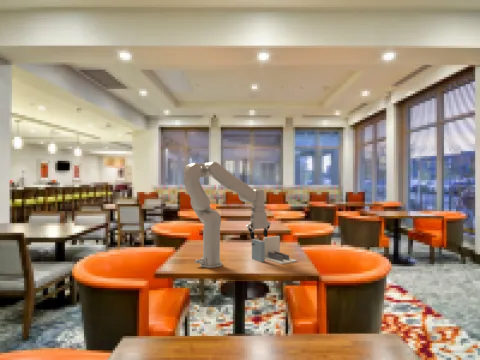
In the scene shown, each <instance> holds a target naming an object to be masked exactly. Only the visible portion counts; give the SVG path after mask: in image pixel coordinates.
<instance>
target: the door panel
mask: <svg viewBox="0 0 480 360" xmlns="http://www.w3.org/2000/svg"><path fill="white" fill-rule="evenodd" d="M250 244H251V260H254V261H255V262H256V261H257V262H258V263H266V261H265V260H266V259H265V242H264V241H263V240H260V239H255V238H254V239H251V243H250Z"/></svg>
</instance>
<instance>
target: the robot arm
mask: <svg viewBox="0 0 480 360" xmlns="http://www.w3.org/2000/svg"><path fill="white" fill-rule="evenodd" d="M183 173H184V181H183V183H184V188H185V190H186V193H188V196H189V198H190V206H191V208H192V210H193V211H194V212H195V214H196V216H197V217H198V219H199V221H200V222H201V223H202V224H203V231H202V232H203V233H202V234H203V235H202V245H203V246H202V257H201V258H200V259H195V260H194V263H195V264H199V265H200V267H201V268H208V269H211V268H212V269H213V268H220V267H222V266H223V262H222V261H220V260H221V223H222V217H221V214H220V212H219V211H217V210H215V209H213V208H212V206H211V200H210V198H209V196H208V195H207V193H206V192H205V190H204V188H203V186H202V184H201V180H200V179H201V178H207V177H208V178H209V177H212V179H214V180H215V181H216V182H217V183H219V184H220V185H221V186H222V187H224V188H226V189H227V190H230V191H233V192H234V193H237V195H238V199H239V200H240V201H241V202H244V203H251V208H250V211H251V213H250V222H249V223H247V224H246V225H245V226H246V228H247V230H248V231H249V234H250V235H249V236H250V239H251V240H252V239H255V230H260V229H261V230H262V229H263V238H264V237H268V231H269V229H270V226H271V221H268V216H267V212H266V211H265V190H264V189H259V188H258V189H253V188H252V187H251V186H249V185H248V184H247V183H245V182H244V181H243V180H241V179H240V178H238V177H237V176H235V175H233V174H232V173H231V172H230V171H228V169H226V168H225V167H224V166H222V165H221V163H219V162H216V161H209V162H201V163H197V162H192V163H189V164H187V165H185V167H184V169H183Z"/></svg>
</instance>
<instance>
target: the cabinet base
mask: <svg viewBox="0 0 480 360" xmlns="http://www.w3.org/2000/svg"><path fill="white" fill-rule="evenodd" d="M280 240H281V237H280V235H274V236H267V237H264V236H263V238H262V241H264V242H265V260H267V261H270V262H273V263H276V264H279V265H286V264H292V263H297V262H298V259H294V258H290V254H287V253H282V252H280V251H281V250H280V249H281V246H280V245H281V244H280V242H281V241H280Z"/></svg>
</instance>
